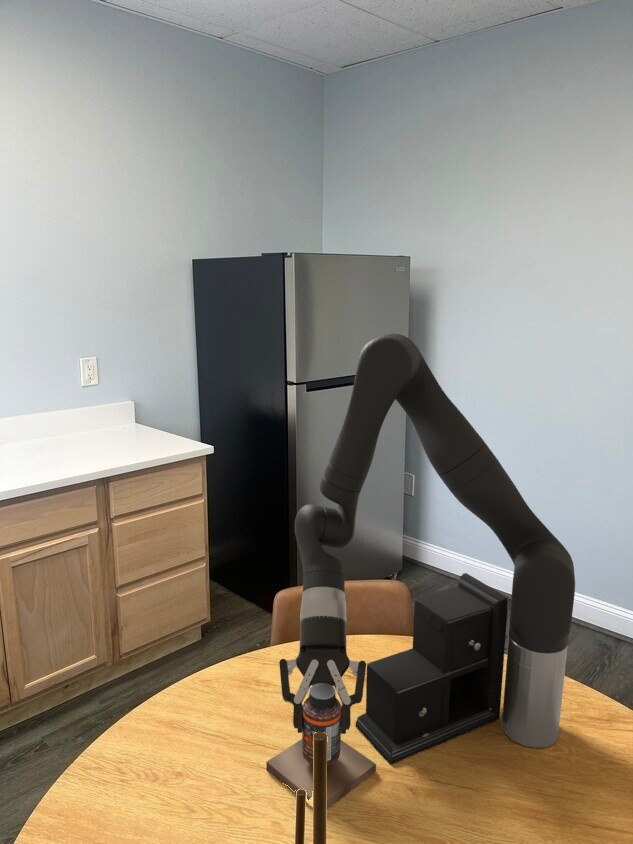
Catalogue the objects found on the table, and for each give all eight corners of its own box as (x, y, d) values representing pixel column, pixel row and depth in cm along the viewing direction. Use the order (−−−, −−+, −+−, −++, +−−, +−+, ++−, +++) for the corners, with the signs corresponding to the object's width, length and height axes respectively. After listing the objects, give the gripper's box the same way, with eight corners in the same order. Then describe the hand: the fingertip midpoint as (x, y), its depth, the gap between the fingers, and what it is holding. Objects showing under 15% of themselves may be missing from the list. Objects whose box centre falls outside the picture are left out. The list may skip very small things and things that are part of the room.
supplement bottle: (293, 755, 103) (294, 690, 100) (320, 736, 107) (320, 673, 105) (322, 775, 99) (323, 708, 96) (348, 754, 103) (349, 689, 101)
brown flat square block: (321, 734, 112) (321, 726, 111) (375, 772, 103) (376, 763, 103) (266, 769, 104) (266, 761, 103) (320, 814, 95) (320, 805, 95)
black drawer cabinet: (390, 766, 105) (396, 631, 100) (353, 726, 114) (357, 600, 109) (501, 721, 116) (511, 596, 111) (459, 687, 125) (467, 571, 120)
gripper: (278, 613, 106) (272, 728, 97) (368, 614, 106) (371, 730, 97) (280, 625, 112) (275, 735, 103) (365, 627, 112) (368, 737, 103)
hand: (321, 732), depth 100 cm, fingers closed on supplement bottle, 6 cm apart
